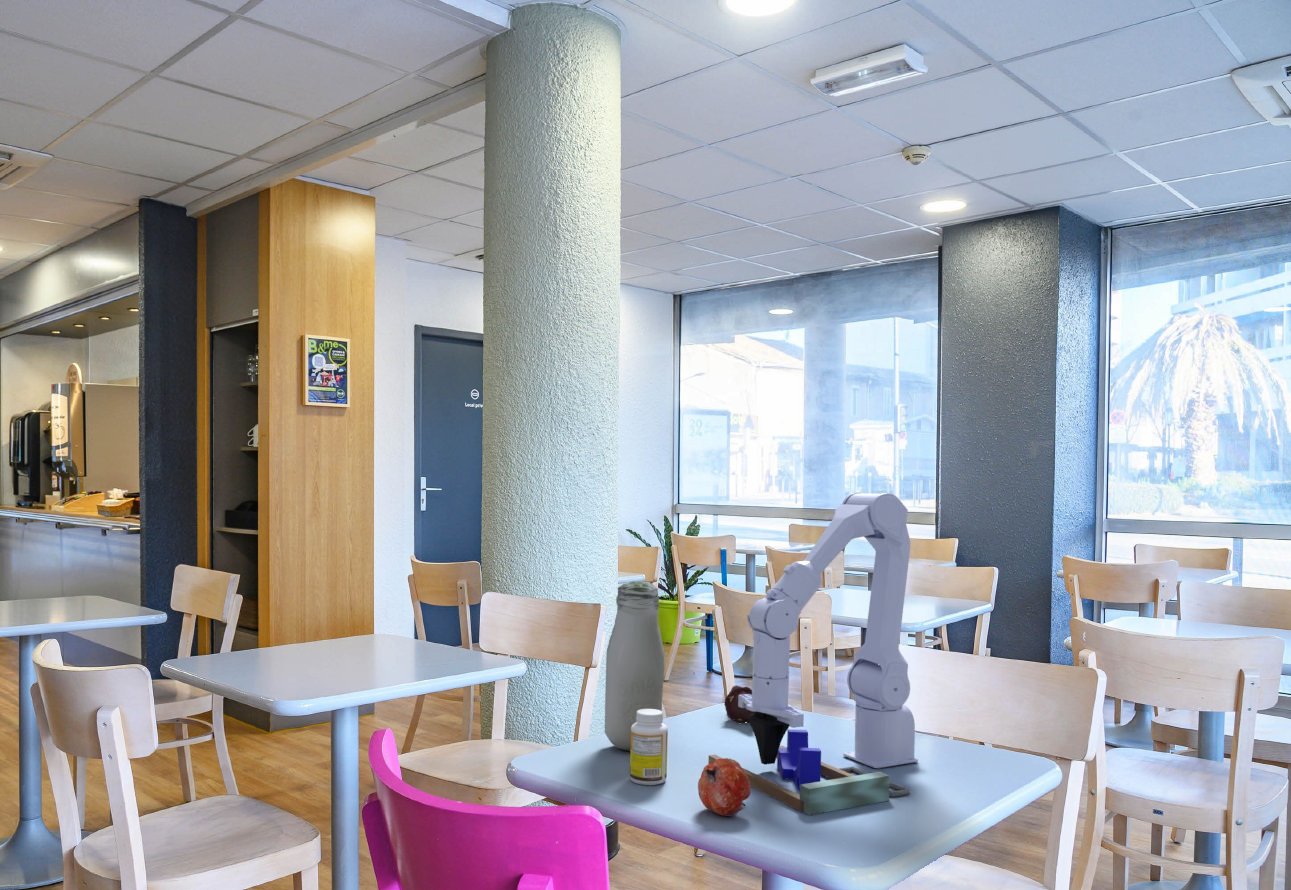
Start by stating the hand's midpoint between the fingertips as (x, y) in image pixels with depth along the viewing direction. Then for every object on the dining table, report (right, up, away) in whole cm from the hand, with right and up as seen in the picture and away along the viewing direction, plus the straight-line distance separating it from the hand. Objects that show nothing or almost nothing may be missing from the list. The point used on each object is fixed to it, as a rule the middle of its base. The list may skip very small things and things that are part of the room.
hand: (768, 763), depth 144 cm
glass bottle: (-21, -1, +10) cm, 24 cm away
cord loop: (+15, -1, -5) cm, 16 cm away
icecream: (-1, -3, +30) cm, 31 cm away
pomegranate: (-9, 0, -19) cm, 21 cm away
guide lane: (+3, -1, -5) cm, 6 cm away
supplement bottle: (-19, -1, -7) cm, 20 cm away
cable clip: (+4, -1, -4) cm, 6 cm away
